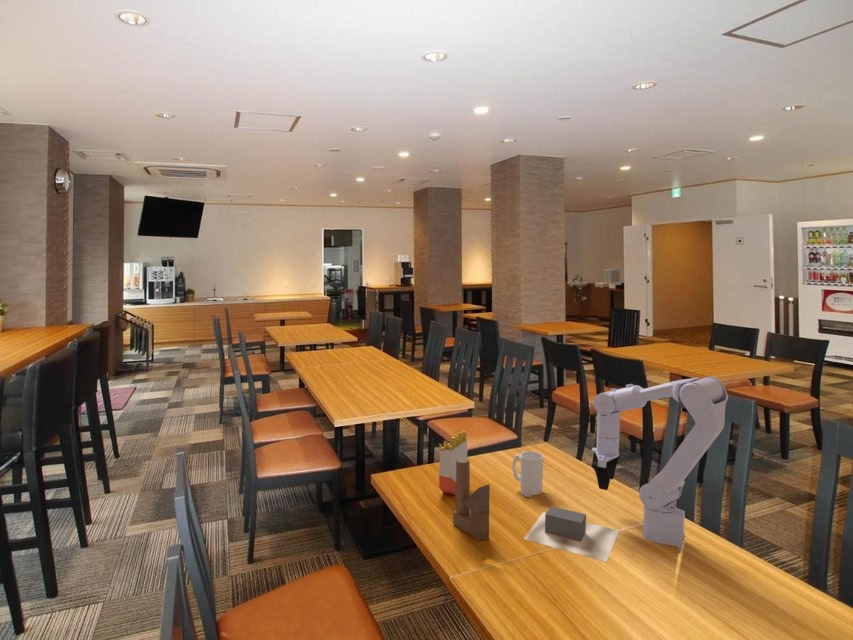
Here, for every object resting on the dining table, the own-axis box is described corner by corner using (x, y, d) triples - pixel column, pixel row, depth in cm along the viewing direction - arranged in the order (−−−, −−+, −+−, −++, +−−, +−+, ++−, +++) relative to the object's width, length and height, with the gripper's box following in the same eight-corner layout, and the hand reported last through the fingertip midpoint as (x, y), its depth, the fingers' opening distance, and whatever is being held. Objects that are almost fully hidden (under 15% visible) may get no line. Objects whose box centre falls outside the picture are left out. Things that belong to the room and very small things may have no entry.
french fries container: (438, 495, 156) (437, 437, 154) (454, 482, 166) (454, 427, 164) (451, 498, 154) (451, 440, 152) (467, 485, 163) (467, 429, 161)
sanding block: (585, 533, 132) (586, 514, 132) (580, 542, 128) (581, 522, 128) (550, 524, 137) (551, 506, 136) (544, 532, 133) (545, 514, 132)
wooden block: (478, 541, 131) (479, 473, 129) (452, 524, 139) (452, 459, 137) (489, 537, 133) (490, 469, 131) (463, 520, 142) (463, 456, 139)
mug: (546, 493, 158) (547, 454, 156) (535, 500, 153) (535, 461, 151) (518, 483, 164) (519, 446, 163) (506, 490, 159) (506, 452, 158)
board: (619, 534, 134) (619, 530, 134) (606, 565, 120) (606, 561, 120) (543, 515, 144) (543, 512, 144) (523, 542, 130) (523, 539, 130)
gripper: (598, 425, 149) (596, 471, 150) (586, 441, 136) (585, 490, 138) (624, 429, 145) (622, 476, 147) (614, 445, 133) (612, 496, 134)
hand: (606, 483), depth 142 cm, fingers open, 7 cm apart
